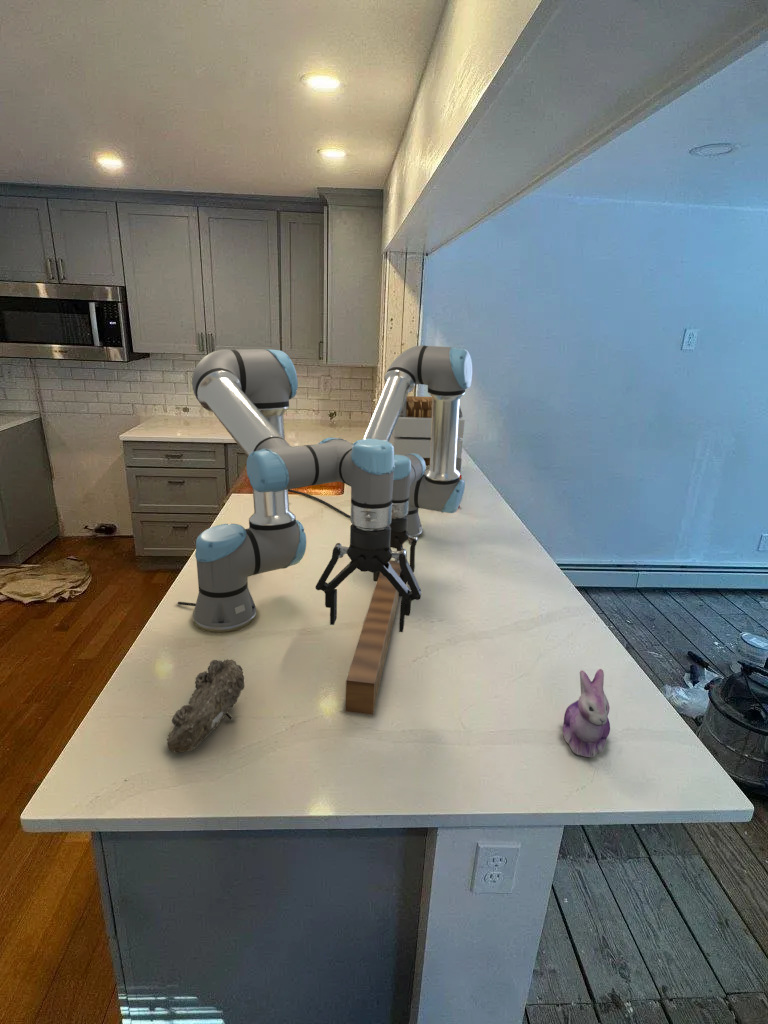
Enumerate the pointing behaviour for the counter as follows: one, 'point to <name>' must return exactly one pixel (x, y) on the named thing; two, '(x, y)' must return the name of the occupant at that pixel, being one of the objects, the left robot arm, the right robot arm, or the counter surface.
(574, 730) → the figurine
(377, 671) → the bar
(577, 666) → the counter surface
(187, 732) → the fossil
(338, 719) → the counter surface
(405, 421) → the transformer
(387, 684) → the counter surface
